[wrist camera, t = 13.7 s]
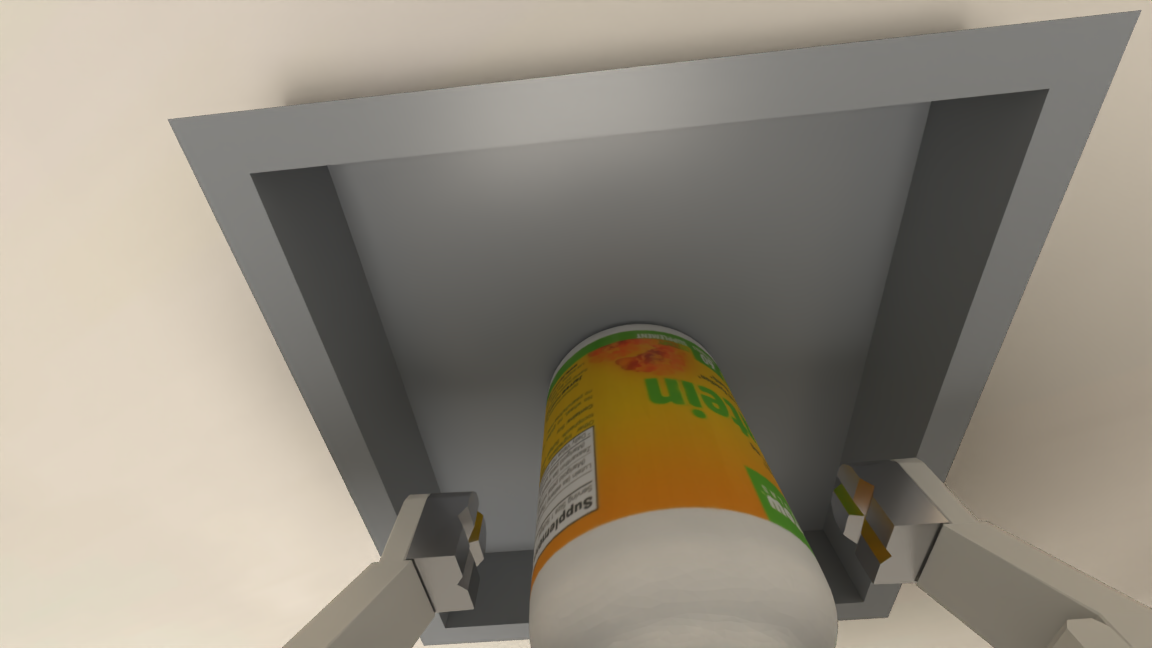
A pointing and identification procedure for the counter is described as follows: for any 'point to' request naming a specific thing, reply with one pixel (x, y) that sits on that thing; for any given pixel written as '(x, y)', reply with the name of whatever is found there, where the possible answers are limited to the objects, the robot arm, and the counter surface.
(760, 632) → the supplement bottle
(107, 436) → the counter surface
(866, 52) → the parts tray
